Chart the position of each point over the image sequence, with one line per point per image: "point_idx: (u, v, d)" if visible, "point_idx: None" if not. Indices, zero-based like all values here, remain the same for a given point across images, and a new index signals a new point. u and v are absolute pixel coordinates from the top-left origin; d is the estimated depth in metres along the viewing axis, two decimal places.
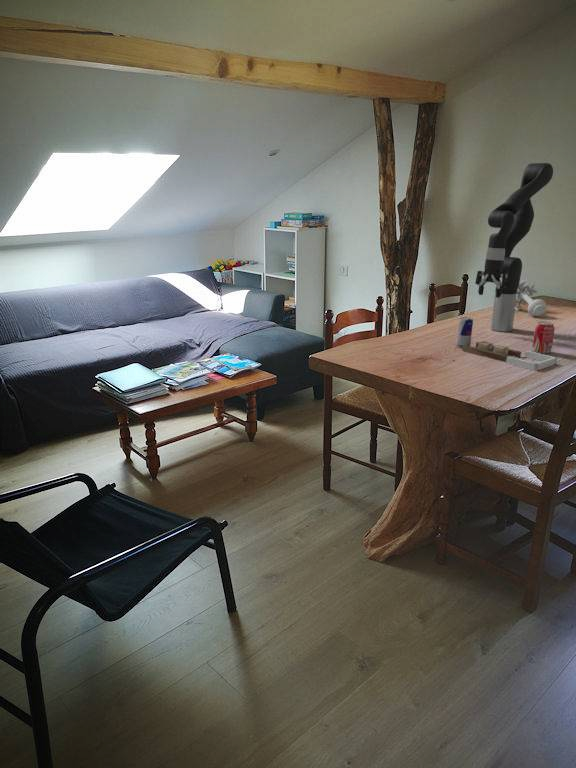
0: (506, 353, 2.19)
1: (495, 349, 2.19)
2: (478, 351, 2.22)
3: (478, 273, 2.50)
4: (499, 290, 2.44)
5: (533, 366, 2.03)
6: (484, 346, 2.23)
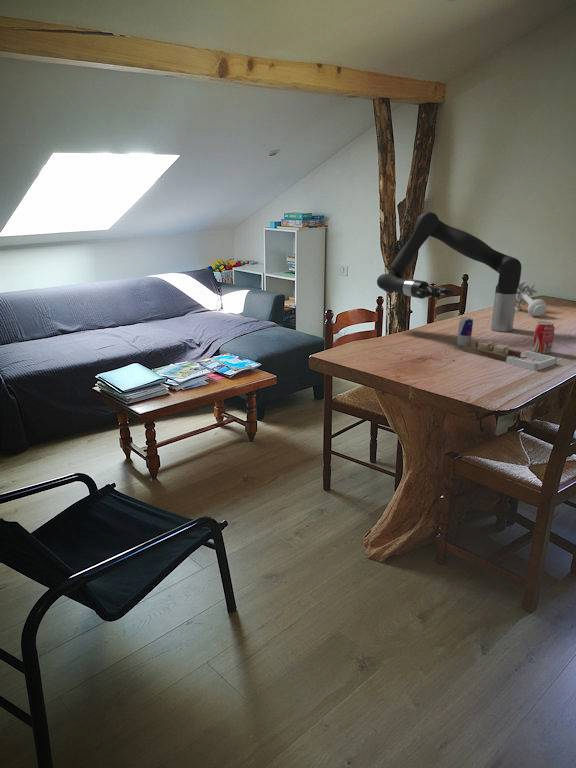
0: (506, 353, 2.19)
1: (495, 349, 2.19)
2: (478, 351, 2.22)
3: (437, 292, 2.46)
4: (432, 295, 2.34)
5: (533, 366, 2.03)
6: (484, 346, 2.23)
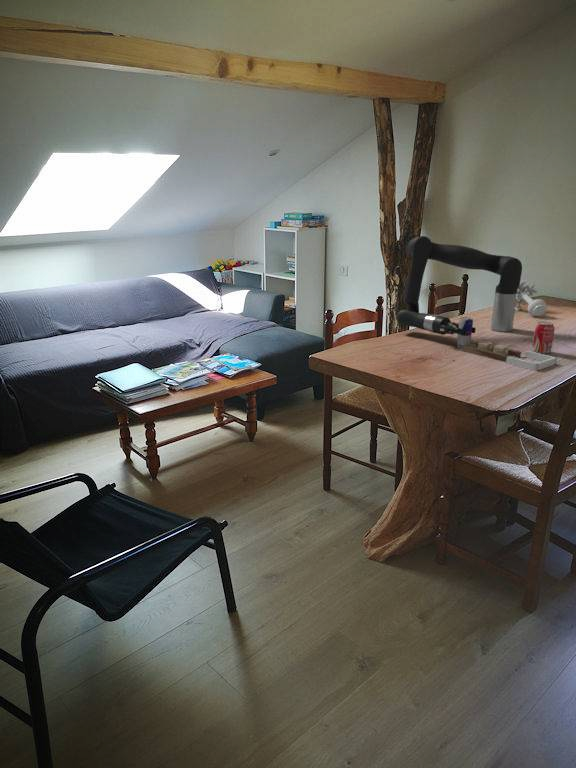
0: (506, 353, 2.19)
1: (495, 349, 2.19)
2: (478, 351, 2.22)
3: None
4: (458, 333, 2.29)
5: (533, 366, 2.03)
6: (484, 346, 2.23)
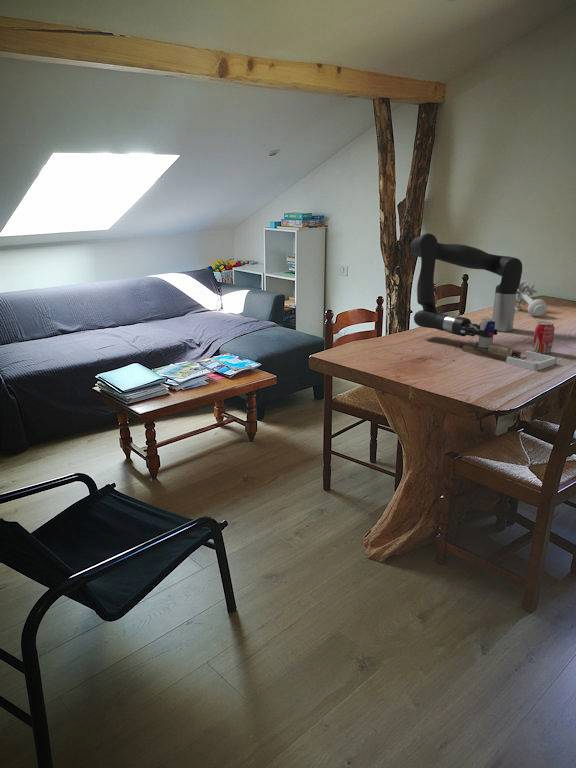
0: (510, 354, 2.18)
1: (499, 350, 2.18)
2: (478, 351, 2.22)
3: None
4: (479, 334, 2.21)
5: (533, 366, 2.03)
6: (495, 348, 2.19)
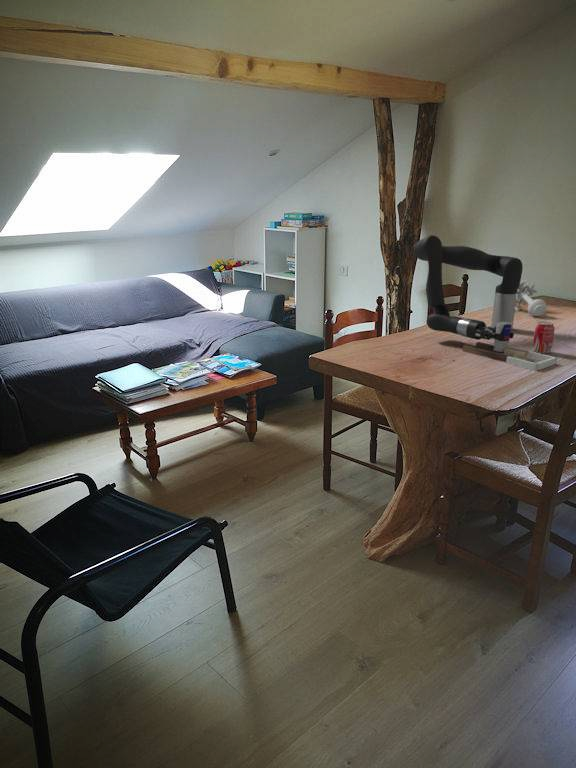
0: (527, 358, 2.13)
1: (516, 354, 2.13)
2: (478, 351, 2.22)
3: (496, 333, 2.26)
4: (495, 338, 2.16)
5: (533, 366, 2.03)
6: (511, 352, 2.14)
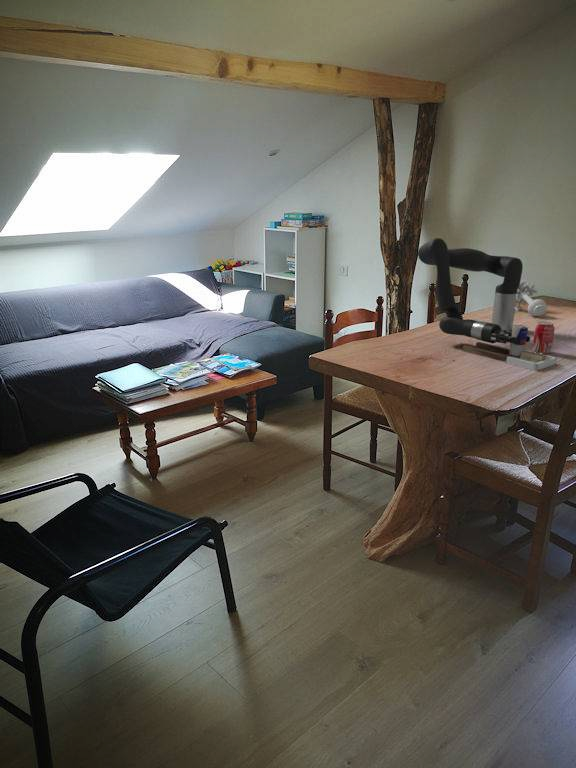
0: None
1: (533, 358, 2.08)
2: (478, 351, 2.22)
3: (511, 336, 2.21)
4: (511, 342, 2.11)
5: (533, 366, 2.03)
6: (528, 356, 2.09)
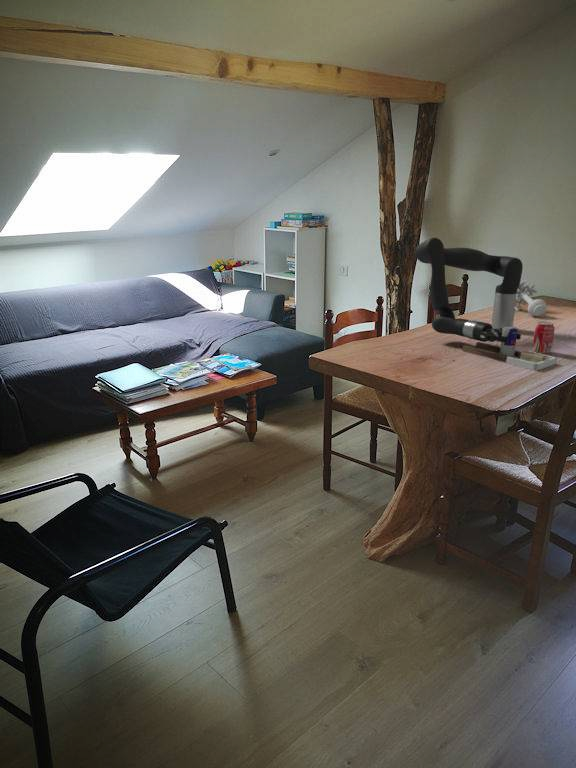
0: None
1: (533, 358, 2.08)
2: (478, 351, 2.22)
3: None
4: (499, 340, 2.14)
5: (533, 366, 2.03)
6: (528, 356, 2.09)
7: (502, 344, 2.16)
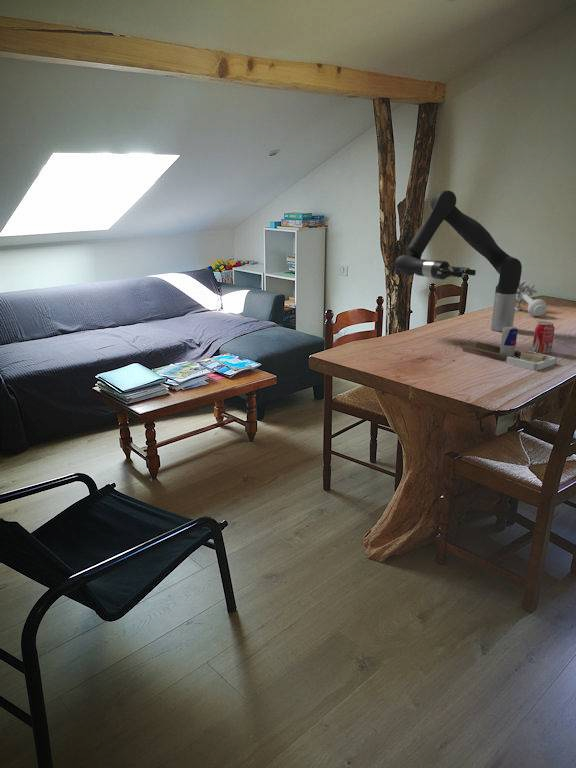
0: None
1: (533, 358, 2.08)
2: (478, 351, 2.22)
3: None
4: (454, 275, 2.24)
5: (533, 366, 2.03)
6: (528, 356, 2.09)
7: (502, 344, 2.16)
